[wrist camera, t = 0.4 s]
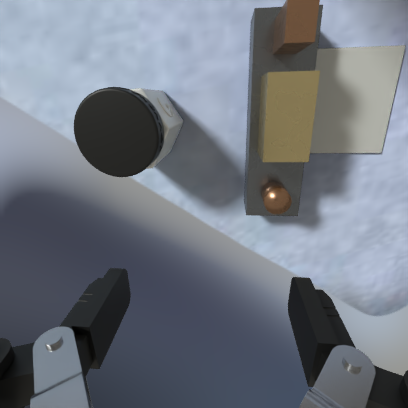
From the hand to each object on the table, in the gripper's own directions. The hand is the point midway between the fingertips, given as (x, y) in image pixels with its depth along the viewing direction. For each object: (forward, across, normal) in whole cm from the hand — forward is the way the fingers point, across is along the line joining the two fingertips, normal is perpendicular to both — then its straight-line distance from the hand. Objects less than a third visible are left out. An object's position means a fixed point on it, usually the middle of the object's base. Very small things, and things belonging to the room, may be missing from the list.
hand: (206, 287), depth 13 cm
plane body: (+26, -7, -5) cm, 27 cm away
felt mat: (+26, -16, -7) cm, 31 cm away
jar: (+26, +9, -5) cm, 28 cm away
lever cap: (+21, -6, -6) cm, 23 cm away
